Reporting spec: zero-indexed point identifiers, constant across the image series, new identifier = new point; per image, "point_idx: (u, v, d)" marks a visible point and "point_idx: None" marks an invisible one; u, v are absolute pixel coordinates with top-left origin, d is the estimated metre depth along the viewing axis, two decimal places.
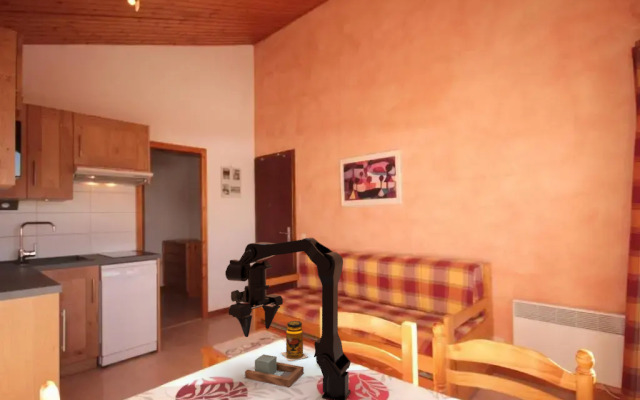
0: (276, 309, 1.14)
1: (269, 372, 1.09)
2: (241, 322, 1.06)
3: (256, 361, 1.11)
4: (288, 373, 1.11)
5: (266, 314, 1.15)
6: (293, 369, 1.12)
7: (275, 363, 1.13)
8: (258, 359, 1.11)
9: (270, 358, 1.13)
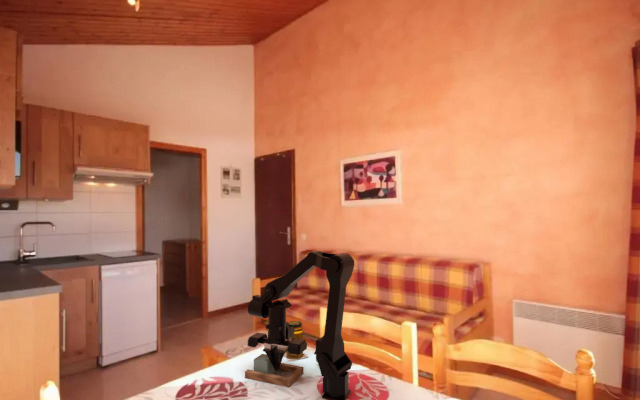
0: (276, 354, 1.08)
1: (268, 371, 1.10)
2: None
3: (255, 360, 1.11)
4: (288, 373, 1.11)
5: None
6: (293, 369, 1.12)
7: None
8: (257, 358, 1.12)
9: None
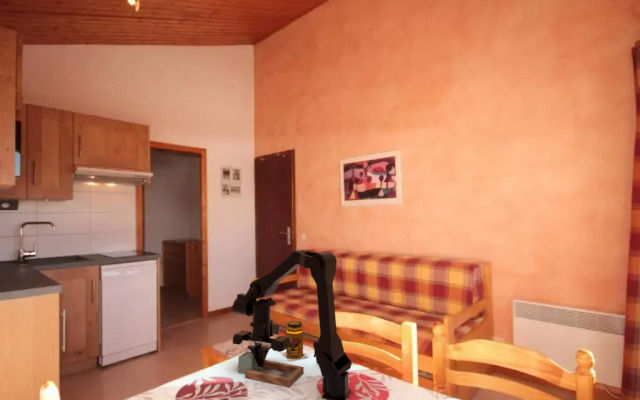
0: (260, 351, 1.10)
1: (252, 368, 1.12)
2: None
3: (239, 358, 1.13)
4: (288, 373, 1.11)
5: None
6: (293, 369, 1.12)
7: None
8: (241, 356, 1.14)
9: None
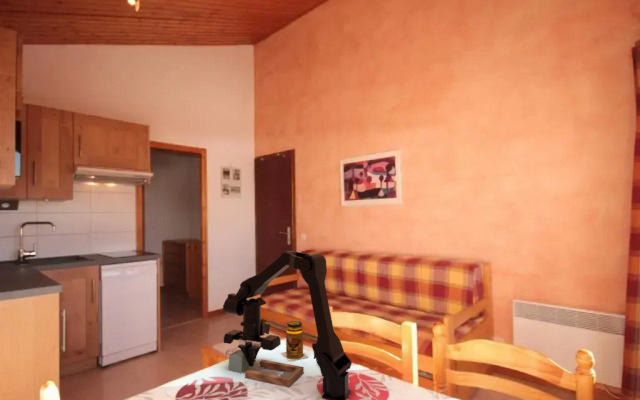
0: (250, 350, 1.11)
1: (242, 366, 1.13)
2: None
3: (230, 356, 1.15)
4: (288, 373, 1.11)
5: None
6: (293, 369, 1.12)
7: None
8: (232, 354, 1.15)
9: None
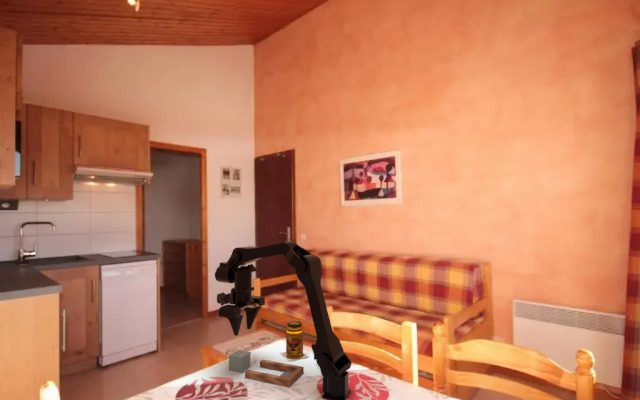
0: (258, 310, 1.20)
1: (242, 367, 1.13)
2: (231, 322, 1.12)
3: (230, 356, 1.15)
4: (288, 373, 1.11)
5: (248, 315, 1.20)
6: (293, 369, 1.12)
7: (248, 358, 1.16)
8: (232, 354, 1.15)
9: (244, 353, 1.16)
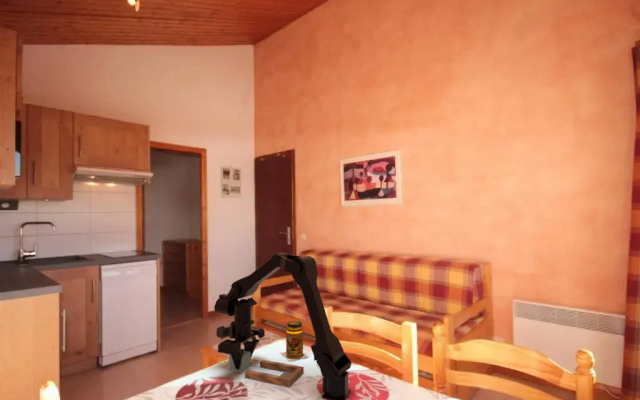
0: (256, 343, 1.19)
1: (242, 366, 1.13)
2: (233, 356, 1.12)
3: (230, 356, 1.15)
4: (288, 373, 1.11)
5: (246, 349, 1.19)
6: (293, 369, 1.12)
7: (248, 358, 1.16)
8: None
9: (244, 353, 1.16)
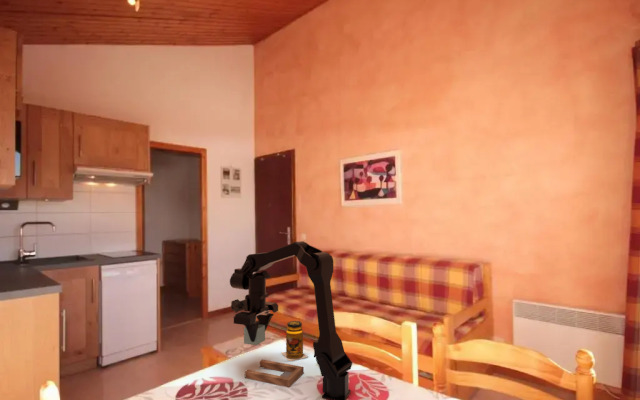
0: (270, 317, 1.19)
1: (257, 339, 1.14)
2: (248, 328, 1.13)
3: (245, 329, 1.15)
4: (288, 373, 1.11)
5: (260, 322, 1.19)
6: (293, 369, 1.12)
7: (263, 331, 1.17)
8: None
9: (258, 326, 1.17)
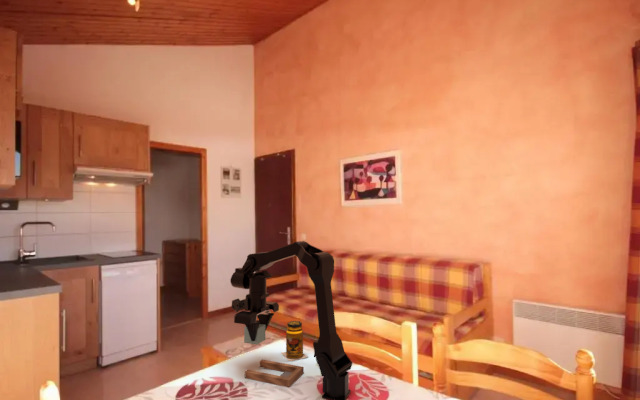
0: (271, 316, 1.19)
1: (258, 338, 1.14)
2: (248, 327, 1.13)
3: (245, 328, 1.15)
4: (288, 373, 1.11)
5: (261, 322, 1.19)
6: (293, 369, 1.12)
7: (263, 331, 1.17)
8: None
9: (259, 325, 1.17)
